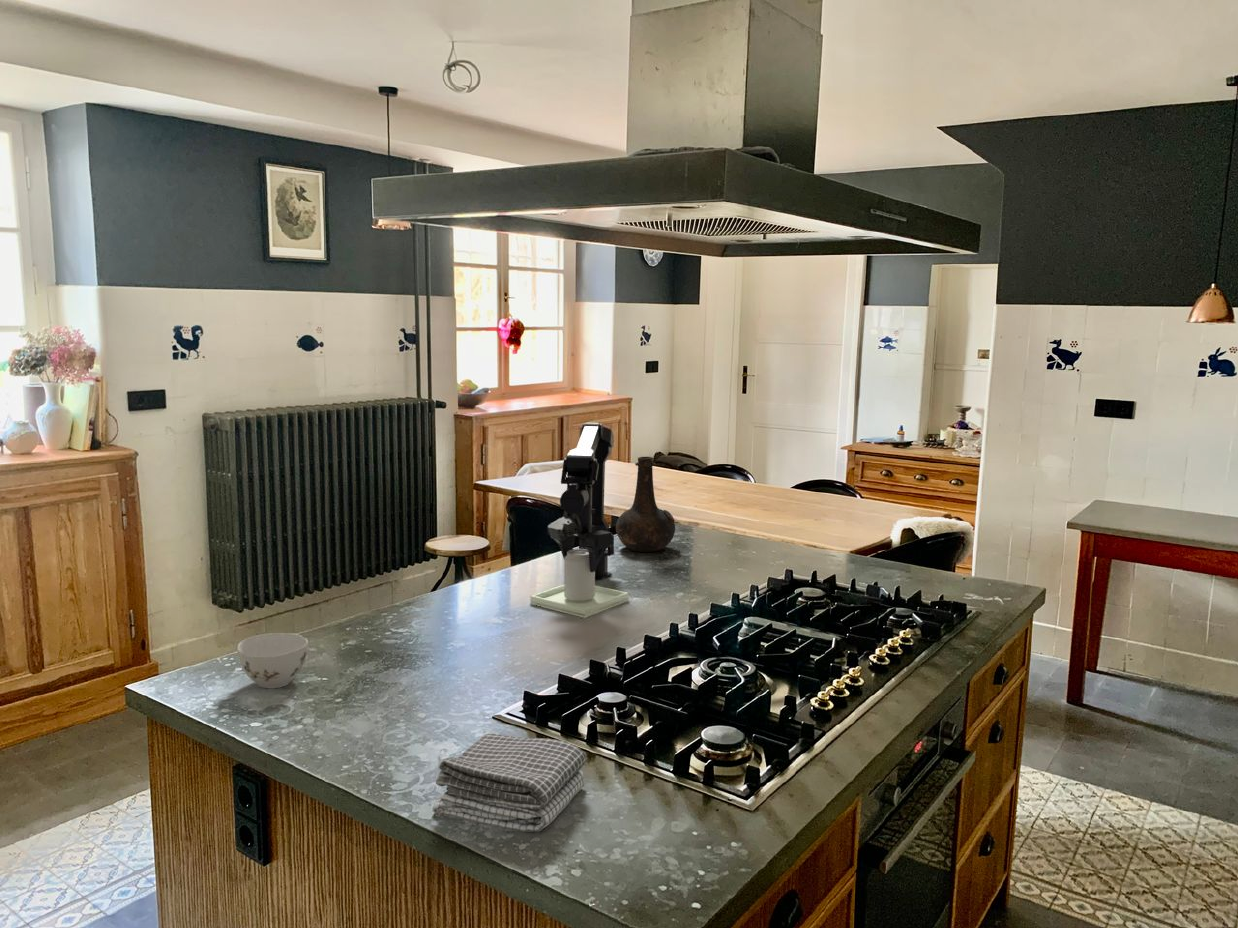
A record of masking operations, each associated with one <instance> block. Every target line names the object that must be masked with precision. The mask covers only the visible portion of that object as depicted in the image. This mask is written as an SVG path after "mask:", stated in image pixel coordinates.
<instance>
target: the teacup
mask: <svg viewBox="0 0 1238 928" xmlns="http://www.w3.org/2000/svg"><path fill="white" fill-rule="evenodd" d="M308 648H309V640H308V638H307V637H303V636H302V635H301V634H297V633H294V632H293V633H292V632H288V633H287V632H286V633H285V632H280V633H279V632H277V633H276V632H275V633H274V632H273V633H271V632H269V633H262V634H256V635H254V636H250V637H247V638H245V639H243V640H242V641H240V642H239V643H238V644H237V655H238V658H239V660H238V661H239V662H240V665H241V668H242V669H243V671H244V673H245V674H246V675H247V677H248V678H249V679H250V680H251V681H253V682H254V683H255V684H256V685H257V686H258V687H260V688H263V689H279V688H282V687H286V686H287V685H289V684H290V682H291V681H292V680H293V679H294V678H295V677H296V676H297V674H298V673H299V672H301V669H302V667H303V665H304V664H305V661H306V658H307V654H308Z"/></svg>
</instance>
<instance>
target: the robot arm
mask: <svg viewBox="0 0 1238 928" xmlns="http://www.w3.org/2000/svg"><path fill="white" fill-rule="evenodd" d="M614 445H615V436H614V433H613V430H612V429H610V428H608V427H606V426H604V424H603V423H600V422H585V423H582V427H581V428H580V431H579V439H578V443H577V445H576V447H575V448H572V449H570V450H569V451H568V453H567V454H566V457H564V459H563V464H562V471H561V479H560V484H561V485H566V490H564V492H562V494H561V495H560V498H559V504H560V507H561V509H562V510H563V516H562V517H559V518H558V519H556V520H555V521H553V522H549V524H548V525H547V527H546V535H549V536H550V538H551V539H553V540H554V541H555V542H556V543H557V544H558V546H559V549H560V552H561V554H562V558H563V559H564V558H565V556H566V555H567V552H568V551H569V550H573V549H574V546H575V540H576V538H578V539H577V541H578V549H586V550H588V551H589V566H590V572H594V571H595V581H598V580H602V579H604V578H608V577H611V576H613V573H612V572H608V571H609V570H608V564H609V562H608V560H609V559H608V558H609V557H611V556H613V555H615V535H614V534H613V533H612V532H610V526H609V524H608V522H607V520H606V519H605V515H604V514H605V482H606V481H605V474H606V471H605V470H606V462H607V461H608V459H609V457H610V456H611V454H612V448H614Z"/></svg>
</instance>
